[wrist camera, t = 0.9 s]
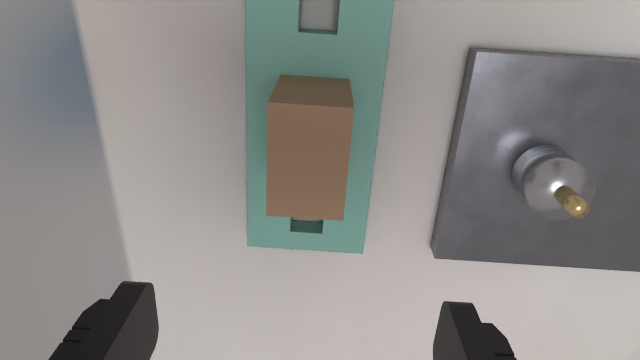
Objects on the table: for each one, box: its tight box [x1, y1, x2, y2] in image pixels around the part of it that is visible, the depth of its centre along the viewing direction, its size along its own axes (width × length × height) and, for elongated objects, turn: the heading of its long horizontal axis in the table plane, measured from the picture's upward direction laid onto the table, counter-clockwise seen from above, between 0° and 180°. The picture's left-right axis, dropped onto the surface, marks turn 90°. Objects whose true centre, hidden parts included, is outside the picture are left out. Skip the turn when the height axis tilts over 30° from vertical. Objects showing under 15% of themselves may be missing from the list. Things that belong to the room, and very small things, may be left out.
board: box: [246, 0, 394, 254], centre depth 26 cm, size 18×8×8 cm, turn 176°
